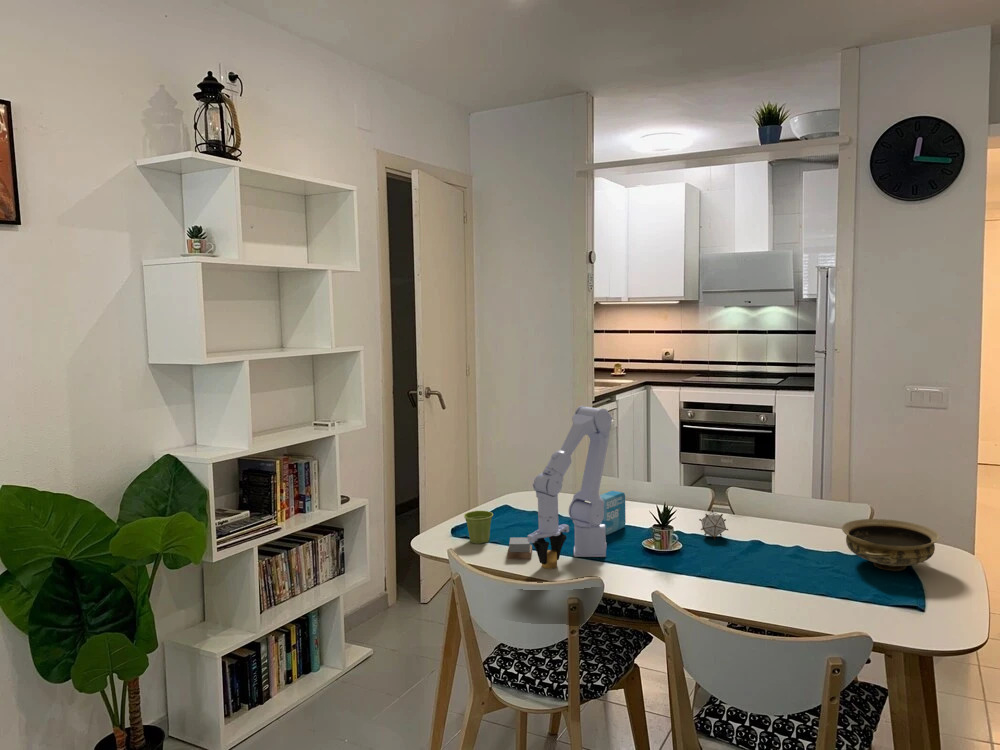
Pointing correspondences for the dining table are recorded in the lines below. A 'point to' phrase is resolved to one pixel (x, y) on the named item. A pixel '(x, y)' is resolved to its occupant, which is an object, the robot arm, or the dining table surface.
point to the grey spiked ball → (713, 524)
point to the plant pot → (478, 525)
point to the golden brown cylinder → (551, 560)
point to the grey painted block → (519, 545)
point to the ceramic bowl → (890, 542)
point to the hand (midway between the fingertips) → (549, 561)
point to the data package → (613, 511)
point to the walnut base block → (520, 554)
